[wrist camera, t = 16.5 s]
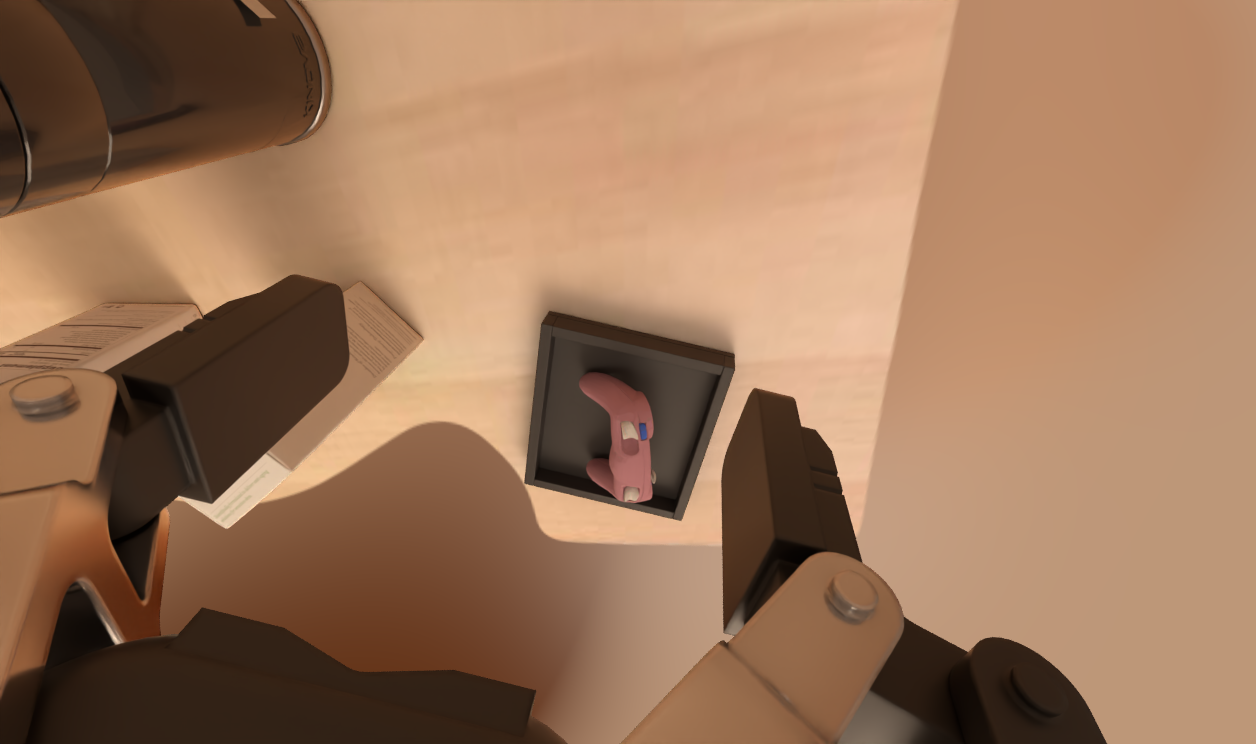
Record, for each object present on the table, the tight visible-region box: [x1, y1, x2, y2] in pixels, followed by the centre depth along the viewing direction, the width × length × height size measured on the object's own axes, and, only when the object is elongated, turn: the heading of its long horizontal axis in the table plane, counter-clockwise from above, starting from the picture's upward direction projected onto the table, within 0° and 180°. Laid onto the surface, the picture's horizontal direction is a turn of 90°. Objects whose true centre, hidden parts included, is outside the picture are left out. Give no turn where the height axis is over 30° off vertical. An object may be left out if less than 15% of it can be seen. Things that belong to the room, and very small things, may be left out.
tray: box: [524, 311, 735, 521], centre depth 42 cm, size 14×16×2 cm
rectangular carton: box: [0, 303, 203, 384], centre depth 39 cm, size 9×9×15 cm
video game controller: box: [579, 372, 656, 503], centre depth 40 cm, size 10×5×7 cm, turn 2°
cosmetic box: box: [178, 282, 423, 529], centre depth 36 cm, size 8×7×16 cm
